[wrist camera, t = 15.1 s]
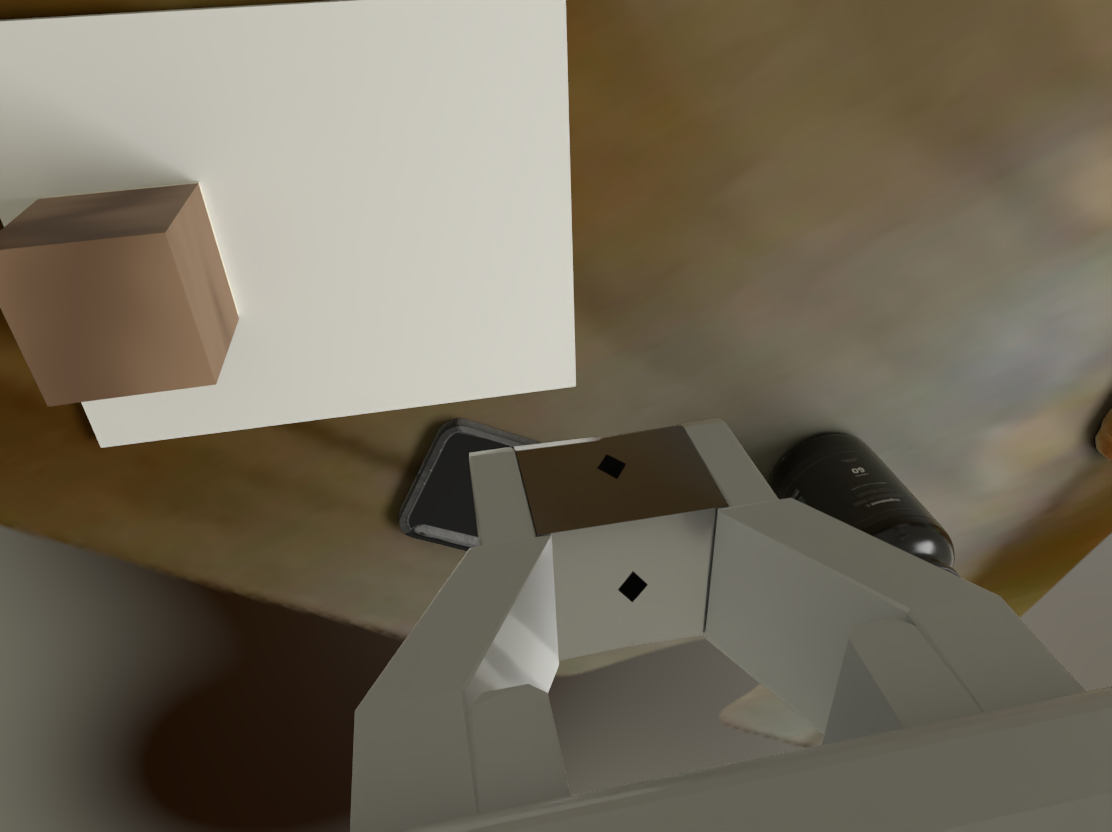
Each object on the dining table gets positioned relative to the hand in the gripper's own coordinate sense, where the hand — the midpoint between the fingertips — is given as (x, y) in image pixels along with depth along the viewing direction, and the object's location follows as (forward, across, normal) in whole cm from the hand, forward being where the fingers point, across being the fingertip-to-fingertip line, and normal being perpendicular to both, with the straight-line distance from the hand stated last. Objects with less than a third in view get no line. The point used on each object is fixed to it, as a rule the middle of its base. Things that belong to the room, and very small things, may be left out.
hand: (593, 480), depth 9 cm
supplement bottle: (+27, -20, +24) cm, 41 cm away
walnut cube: (+20, +13, +6) cm, 25 cm away
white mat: (+27, +6, +6) cm, 28 cm away
